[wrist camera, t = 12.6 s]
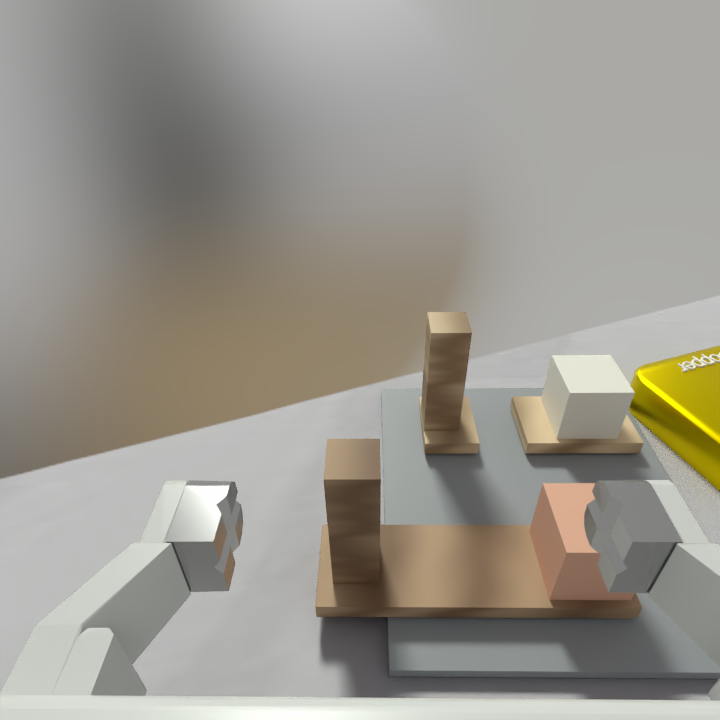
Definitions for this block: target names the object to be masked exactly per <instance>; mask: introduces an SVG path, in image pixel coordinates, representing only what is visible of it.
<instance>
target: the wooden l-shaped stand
mask: <svg viewBox="0 0 720 720" xmlns="http://www.w3.org/2000/svg"><path fill="white" fill-rule="evenodd" d="M380 485H381V478H380V439H327V449H326V460H325V471H324V488H325V500H326V511H327V522H328V525H322V536H321V548H320V560H319V571H318V583H317V595H316V606H315V607H316V615H317V617H469V618H637V617H638V615H639V613H640V612H641V610H642V606H641V604H640V602H639V599H638V597H637V595H636V593H634V595H633V597H632V599H631V600H549V597H548V594H547V590H546V587H545V584H544V580H543V577H542V573H541V570H540V566H539V563H538V559H537V556H536V553H535V549H534V546H533V542H532V539H531V535H530V532H529V530H530V527H531V525H380Z"/></svg>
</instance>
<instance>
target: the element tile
mask: <svg viewBox="0 0 720 720" xmlns="http://www.w3.org/2000/svg"><path fill="white" fill-rule="evenodd" d="M630 386H631V388H632V389H633V391H634V392H635V393H634V396H633V399H632V401H631V404H630V406H629V411H630V413H631V414H632V415H633V416H634V417H635V418H637V419H638V420H639V421H640V422H641V423H642V424H643V425H645V426H646V427H647V428H648V429H649V430H650V431H651V432H653V433H654V434H655V435H656V436H657V437H658V438H659V439H661V440H662V441H663V442H664V443H665V444H666V445H668V446H669V447H670V448H671V449H672V450H673V451H674V452H676V453H677V454H678V455H679V456H680V457H681V458H682V459H684V460H685V461H686V462H687V463H688V464H689V465H690V466H692V467H693V468H694V469H695V470H696V471H697V472H698V473H700V474H701V475H702V476H703V477H704V478H705V479H707V480H708V481H709V482H710V483H711V484H712V485H713V486H715V487H716V488H717V489H718V490H719V491H720V346H716V347H712V348H708V349H704V350H700V351H696V352H693V353H689V354H685V355H681V356H677V357H673V358H669V359H665V360H661V361H657V362H654V363H650V364H646V365H643V366H641V367H639V368H638V369H637V370H636V371H635V374H634V377H633V379H632V382H631V385H630Z"/></svg>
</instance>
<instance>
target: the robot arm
mask: <svg viewBox="0 0 720 720" xmlns="http://www.w3.org/2000/svg"><path fill="white" fill-rule="evenodd" d="M237 492H238V491H237V488H236V484H235V482H226V481H170V480H168V481H167V482H166V483H165V484H164V485H163V487H162V489H161V491H160V494H159V496H158V498H157V501H156V503H155V506H154V508H153V511H152V513H151V515H150V518H149V520H148V523H147V525H146V527H145V530H144V532H143V535H142V537H141V540H140V542H139V543H132V544H131V545H130V546H128V547H127V548H126V549H125V550H124V551H122V552H121V553H120V554H119V555H118V556H117V557H115V558H114V559H113V560H112V561H111V562H110V563H108V564H107V565H106V566H105V567H104V568H102V569H101V570H100V571H99V572H98V573H97V574H95V575H94V576H93V577H92V578H91V579H90V580H88V581H87V582H86V583H85V584H84V585H82V586H81V587H80V588H79V589H78V590H77V591H75V592H74V593H73V594H72V595H71V596H70V597H68V598H67V599H66V600H65V601H64V602H62V603H61V604H60V605H59V606H58V607H57V608H55V609H54V610H53V611H52V612H51V613H50V614H48V615H47V616H46V617H45V618H44V619H42V620H41V621H40V622H39V623H38V624H37V625H36V626H35V628H34V630H33V631H32V633H31V635H30V637H29V639H28V641H27V643H26V645H25V647H24V649H23V651H22V652H21V654H20V656H19V658H18V660H17V662H16V664H15V666H14V668H13V670H12V672H11V674H10V675H9V677H8V679H7V681H6V683H5V685H4V687H3V689H2V691H1V693H0V720H720V678H719V679H718V681H717V682H716V683H715V684H714V685H713V686H712V688H711V689H710V691H709V693H708V695H709V697H710V699H711V700H605V699H487V698H366V697H238V696H145V694H146V691H147V690H146V688H145V686H144V684H143V682H142V680H141V679H140V677H139V675H138V674H137V672H136V670H135V669H134V667H133V665H132V664H133V663H134V662H135V660H136V659H137V658H138V657H139V656H140V654H141V653H142V652H143V651H144V650H145V648H146V647H147V646H148V645H149V644H150V643H151V641H152V640H153V639H154V638H155V637H156V635H157V634H158V633H159V632H160V631H161V629H162V628H163V627H164V626H165V625H166V623H167V622H168V621H169V620H170V619H171V617H172V616H173V615H174V614H175V613H176V611H177V610H178V609H179V608H180V607H181V605H182V604H183V603H184V602H185V601H186V600H187V598H188V597H189V596H190V595H191V593H190V592H207V591H229V588H230V584H231V579H232V575H233V571H234V567H235V561H234V557H233V553H232V552H233V551H234V550H235V549H236V548H237V547H238V546H239V545H240V540H241V536H242V526H243V515H242V508H241V504H239V503H238V502H237V501H236V496H237ZM592 492H593V495H594V497H595V499H594V500H593V501H591V502H590V503H588V504H587V507H586V510H585V513H584V527H585V532H586V536H587V539H588V542H589V544H590V546H591V547H592V548H593V549H594V550H595V551H597V552H598V553H599V554H600V555H601V556H600V558H599V561H598V564H597V565H598V567H599V570H600V572H601V575H602V577H603V580H604V582H605V585H606V587H607V590H608V592H617V593H649V594H648V596H649V597H650V598H651V599H652V600H653V601H654V602H655V603H656V604H657V605H658V606H659V607H660V608H661V609H662V610H663V611H664V612H665V613H666V614H667V615H668V616H669V617H670V618H671V619H672V620H673V621H674V622H675V623H676V624H677V625H678V626H679V627H680V628H681V629H682V630H683V631H684V632H685V633H686V634H687V635H688V636H689V637H690V638H691V639H692V640H693V641H694V642H695V643H696V644H697V645H698V647H699V648H700V649H701V650H702V651H703V652H704V653H705V654H706V655H707V656H708V657H709V658H710V659H711V660H712V661H713V662H714V663H715V664H716V665H717V666H718V667H719V668H720V545H719V544H716V543H710V542H709V540H708V538H707V537H706V535H705V534H704V532H703V530H702V529H701V527H700V525H699V524H698V522H697V521H696V519H695V517H694V516H693V514H692V513H691V511H690V509H689V508H688V506H687V504H686V503H685V501H684V500H683V498H682V496H681V495H680V493H679V492H678V490H677V488H676V487H675V485H674V484H673V483H672V482H671V481H669V480H599V481H598V482H597V483H595V485H594V488H593V490H592Z"/></svg>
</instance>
